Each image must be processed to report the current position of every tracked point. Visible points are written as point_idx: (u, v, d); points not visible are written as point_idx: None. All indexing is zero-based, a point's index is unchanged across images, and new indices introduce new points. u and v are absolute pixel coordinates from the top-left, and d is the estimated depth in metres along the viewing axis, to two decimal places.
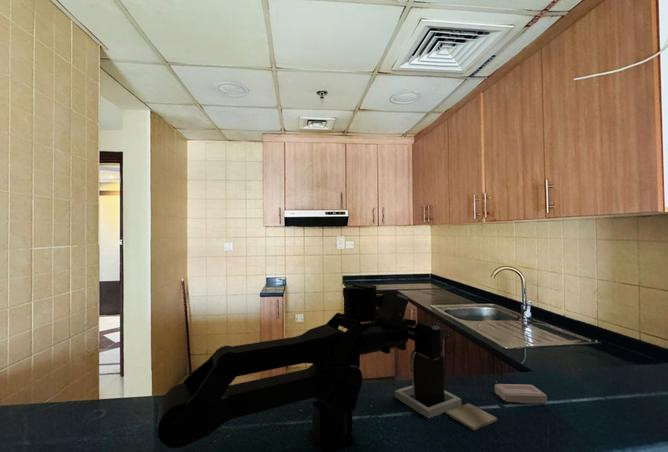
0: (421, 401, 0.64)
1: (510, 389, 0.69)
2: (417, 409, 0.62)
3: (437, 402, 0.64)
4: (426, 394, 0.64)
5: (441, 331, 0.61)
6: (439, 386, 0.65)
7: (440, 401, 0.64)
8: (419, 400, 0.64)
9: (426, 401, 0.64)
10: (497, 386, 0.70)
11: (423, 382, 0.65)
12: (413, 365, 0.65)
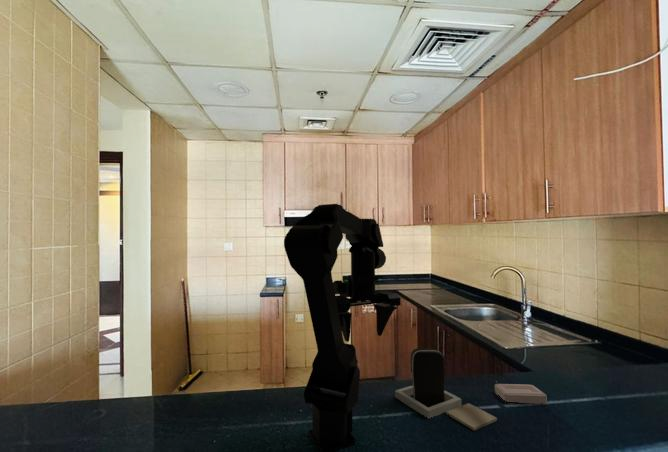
0: (421, 401, 0.64)
1: (510, 389, 0.69)
2: (417, 409, 0.62)
3: (437, 402, 0.64)
4: (426, 394, 0.64)
5: None
6: (439, 386, 0.65)
7: (440, 401, 0.64)
8: (419, 400, 0.64)
9: (426, 401, 0.64)
10: (497, 386, 0.70)
11: (423, 382, 0.65)
12: (413, 365, 0.65)
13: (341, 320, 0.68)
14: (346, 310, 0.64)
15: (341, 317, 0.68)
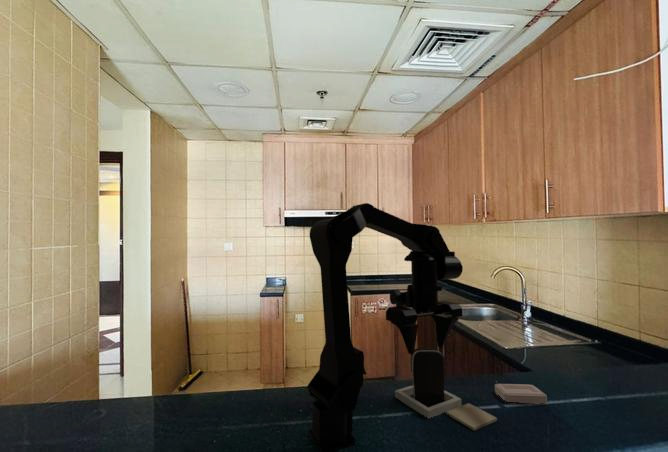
0: (421, 401, 0.64)
1: (510, 389, 0.69)
2: (417, 409, 0.62)
3: (437, 402, 0.64)
4: (426, 394, 0.64)
5: None
6: (439, 386, 0.65)
7: (440, 401, 0.64)
8: (419, 400, 0.64)
9: (426, 401, 0.64)
10: (497, 386, 0.70)
11: (423, 382, 0.65)
12: (413, 365, 0.65)
13: (405, 332, 0.65)
14: (413, 322, 0.62)
15: (405, 329, 0.65)
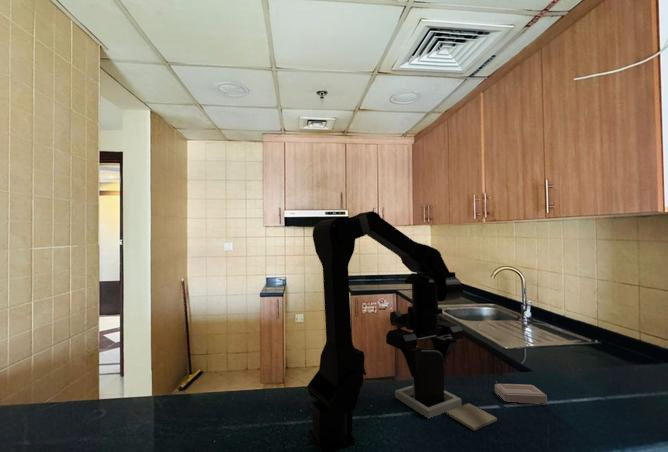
0: (421, 401, 0.64)
1: (510, 389, 0.69)
2: (417, 409, 0.62)
3: (437, 402, 0.64)
4: (426, 394, 0.64)
5: None
6: (439, 386, 0.65)
7: (440, 401, 0.64)
8: (419, 400, 0.64)
9: (426, 401, 0.64)
10: (497, 386, 0.70)
11: (423, 382, 0.65)
12: None
13: (408, 355, 0.65)
14: (414, 347, 0.61)
15: (408, 352, 0.65)
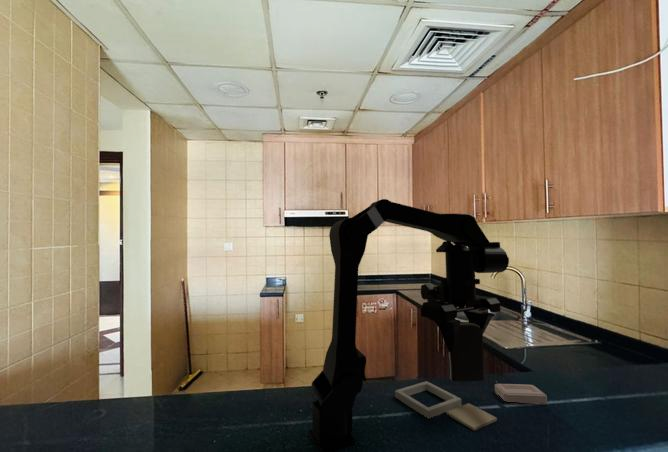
0: (459, 377, 0.60)
1: (510, 389, 0.69)
2: (417, 409, 0.62)
3: (476, 378, 0.60)
4: (464, 370, 0.60)
5: None
6: (478, 361, 0.60)
7: (479, 377, 0.60)
8: (457, 376, 0.60)
9: (464, 377, 0.60)
10: (497, 386, 0.70)
11: (461, 357, 0.60)
12: None
13: (444, 328, 0.60)
14: (453, 318, 0.57)
15: (444, 325, 0.60)
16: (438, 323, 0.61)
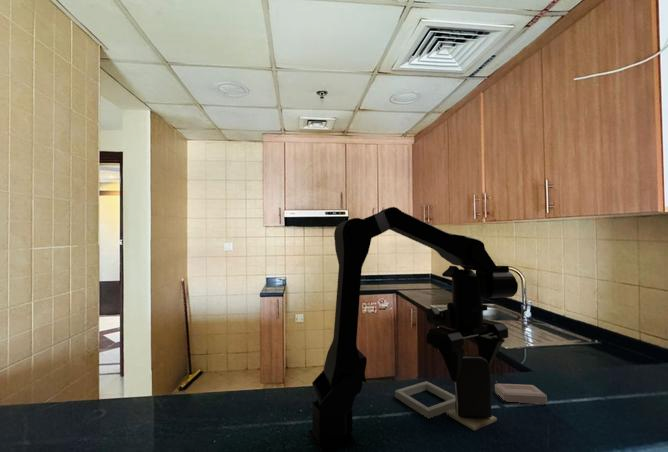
0: (466, 413, 0.58)
1: (510, 389, 0.69)
2: (417, 409, 0.62)
3: (483, 414, 0.58)
4: (471, 405, 0.59)
5: None
6: (485, 397, 0.59)
7: (487, 413, 0.58)
8: (463, 412, 0.58)
9: (471, 413, 0.58)
10: (497, 386, 0.70)
11: (468, 392, 0.59)
12: None
13: (448, 357, 0.58)
14: (460, 347, 0.55)
15: (448, 353, 0.59)
16: (441, 351, 0.59)
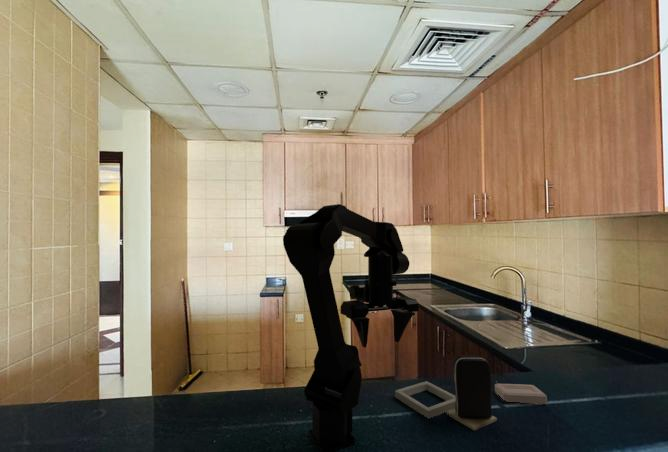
0: (466, 414, 0.58)
1: (510, 388, 0.69)
2: (417, 409, 0.62)
3: (483, 415, 0.58)
4: (471, 406, 0.59)
5: None
6: (486, 398, 0.59)
7: (487, 414, 0.58)
8: (464, 413, 0.58)
9: (471, 414, 0.58)
10: (497, 386, 0.70)
11: (468, 393, 0.59)
12: (456, 374, 0.59)
13: (358, 325, 0.67)
14: (364, 315, 0.64)
15: (358, 322, 0.67)
16: (353, 320, 0.67)
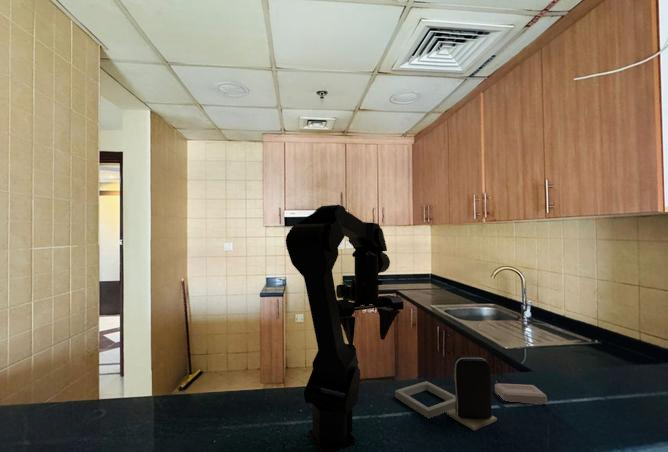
0: (466, 414, 0.58)
1: (510, 388, 0.69)
2: (417, 409, 0.62)
3: (483, 415, 0.58)
4: (471, 406, 0.59)
5: None
6: (486, 398, 0.59)
7: (487, 414, 0.58)
8: (464, 413, 0.58)
9: (471, 414, 0.58)
10: (497, 385, 0.70)
11: (468, 393, 0.59)
12: (456, 374, 0.59)
13: (345, 324, 0.68)
14: (350, 314, 0.65)
15: (345, 321, 0.68)
16: (340, 319, 0.69)
